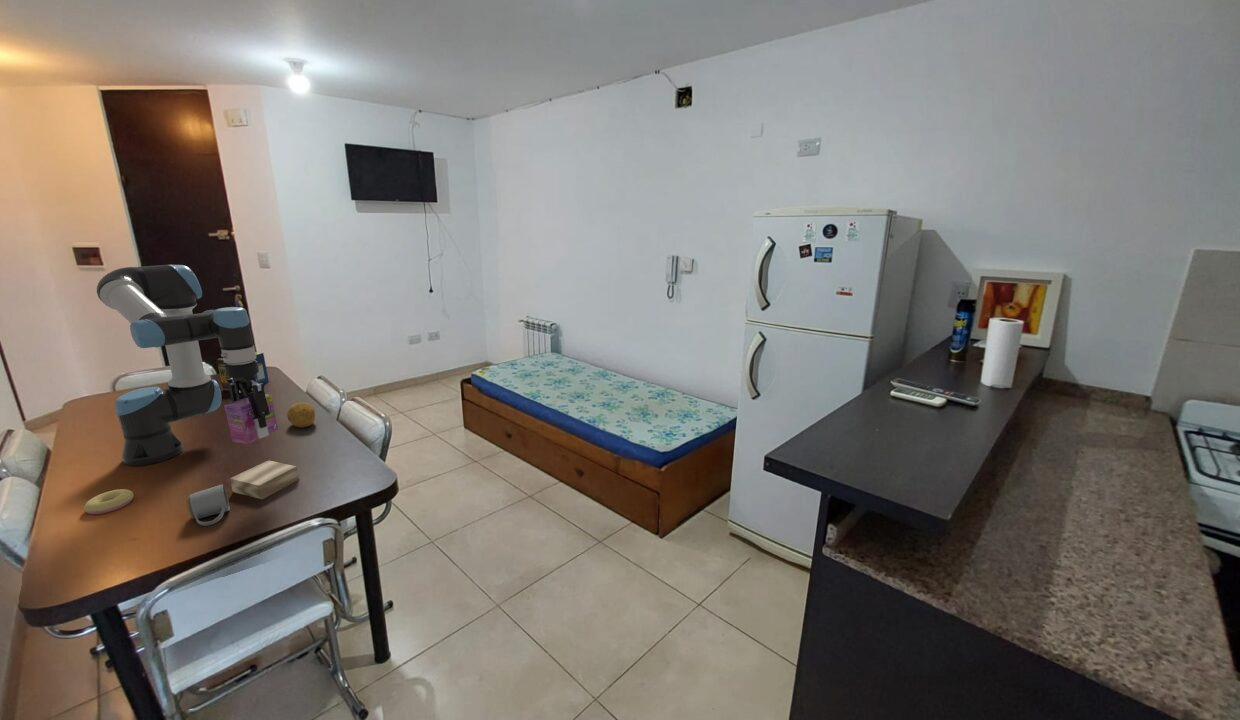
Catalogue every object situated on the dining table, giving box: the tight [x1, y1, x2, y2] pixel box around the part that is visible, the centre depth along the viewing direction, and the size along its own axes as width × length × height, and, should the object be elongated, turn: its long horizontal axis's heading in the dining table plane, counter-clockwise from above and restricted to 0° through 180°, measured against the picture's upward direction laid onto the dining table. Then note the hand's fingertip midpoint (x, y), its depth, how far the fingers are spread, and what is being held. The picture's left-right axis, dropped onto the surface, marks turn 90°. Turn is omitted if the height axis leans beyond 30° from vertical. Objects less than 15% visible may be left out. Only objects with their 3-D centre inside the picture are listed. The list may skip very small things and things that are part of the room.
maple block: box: [229, 460, 300, 500], centre depth 149 cm, size 12×12×5 cm
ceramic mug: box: [186, 484, 230, 527], centre depth 133 cm, size 11×8×8 cm
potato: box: [286, 402, 316, 429], centre depth 191 cm, size 10×13×9 cm
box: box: [224, 393, 279, 445], centre depth 143 cm, size 10×6×12 cm, turn 168°
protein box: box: [216, 351, 270, 392], centre depth 232 cm, size 10×15×16 cm
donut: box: [83, 488, 134, 515], centre depth 137 cm, size 10×5×9 cm
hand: (256, 434), depth 145 cm, fingers closed on box, 6 cm apart
